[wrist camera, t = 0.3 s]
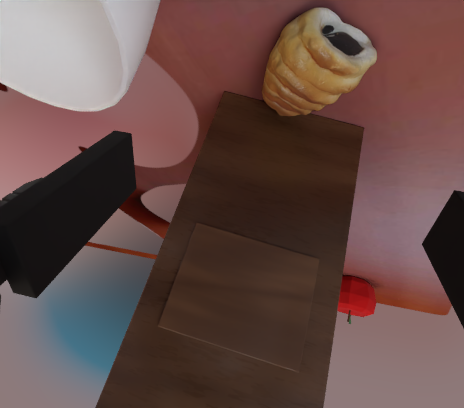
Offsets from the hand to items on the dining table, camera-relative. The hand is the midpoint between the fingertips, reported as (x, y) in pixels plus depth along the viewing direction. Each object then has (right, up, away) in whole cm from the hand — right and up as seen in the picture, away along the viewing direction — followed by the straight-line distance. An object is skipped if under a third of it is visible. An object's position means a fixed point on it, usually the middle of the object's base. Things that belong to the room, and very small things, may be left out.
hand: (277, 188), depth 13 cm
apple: (+28, -19, +61) cm, 70 cm away
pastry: (+5, +11, +11) cm, 16 cm away
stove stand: (+4, +6, +23) cm, 24 cm away
